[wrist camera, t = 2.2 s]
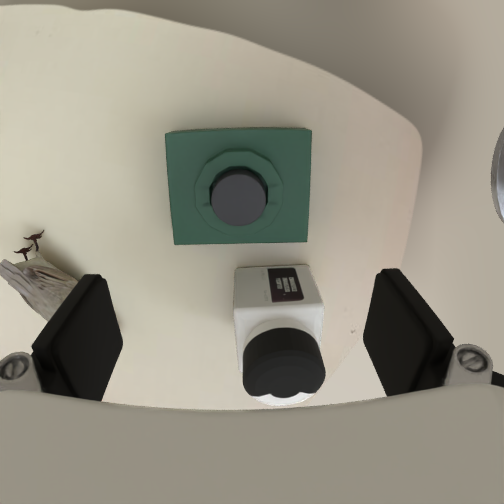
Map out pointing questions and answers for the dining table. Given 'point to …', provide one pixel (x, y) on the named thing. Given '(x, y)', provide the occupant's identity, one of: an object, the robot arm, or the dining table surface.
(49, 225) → the dining table surface
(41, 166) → the dining table surface
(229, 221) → the dark grey push button
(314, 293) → the container
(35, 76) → the dining table surface
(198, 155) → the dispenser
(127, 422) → the robot arm
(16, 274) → the decorative bird
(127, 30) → the dining table surface
